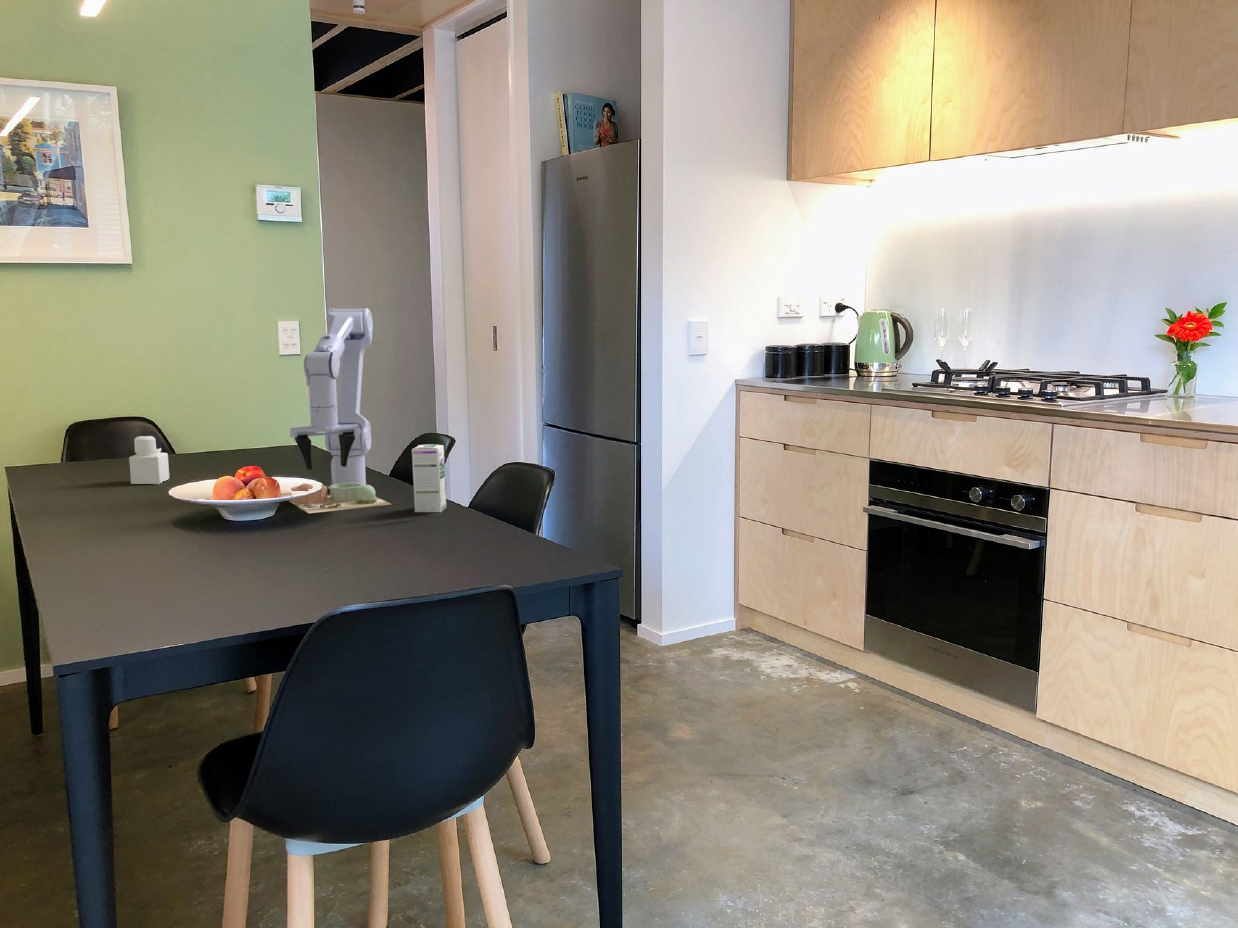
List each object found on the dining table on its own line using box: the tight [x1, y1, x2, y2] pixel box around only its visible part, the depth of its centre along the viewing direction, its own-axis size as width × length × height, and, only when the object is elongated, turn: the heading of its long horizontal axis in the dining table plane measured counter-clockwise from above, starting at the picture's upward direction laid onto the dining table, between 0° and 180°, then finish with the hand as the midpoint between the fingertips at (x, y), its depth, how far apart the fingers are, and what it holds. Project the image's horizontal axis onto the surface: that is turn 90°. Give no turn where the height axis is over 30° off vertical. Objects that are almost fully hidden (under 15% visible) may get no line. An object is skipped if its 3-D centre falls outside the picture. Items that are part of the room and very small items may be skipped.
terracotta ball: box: [297, 482, 313, 490], centre depth 216 cm, size 4×4×4 cm
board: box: [288, 495, 392, 514], centre depth 216 cm, size 18×18×1 cm
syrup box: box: [411, 443, 447, 516], centre depth 206 cm, size 6×6×14 cm
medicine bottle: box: [128, 434, 170, 485], centre depth 246 cm, size 7×7×12 cm
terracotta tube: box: [290, 484, 329, 504], centre depth 217 cm, size 7×7×3 cm
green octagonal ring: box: [329, 483, 364, 502], centre depth 220 cm, size 7×7×3 cm
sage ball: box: [357, 484, 376, 502], centre depth 215 cm, size 4×4×4 cm
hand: (326, 467), depth 215 cm, fingers open, 7 cm apart
